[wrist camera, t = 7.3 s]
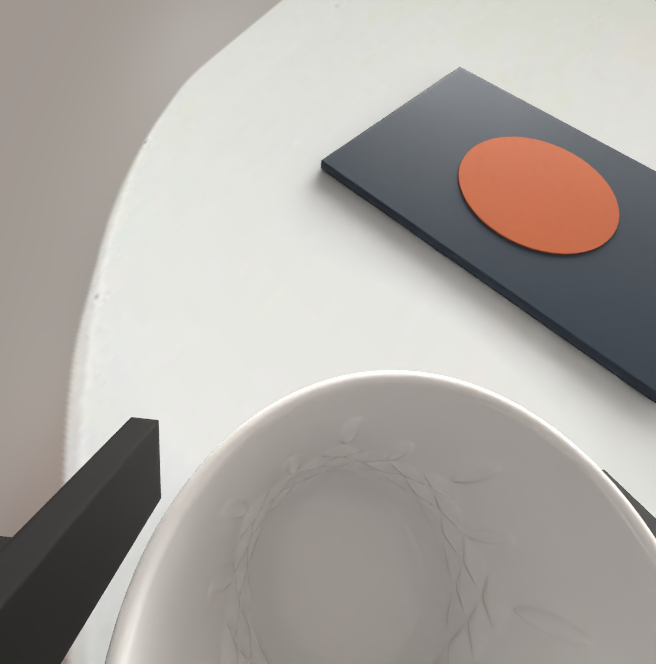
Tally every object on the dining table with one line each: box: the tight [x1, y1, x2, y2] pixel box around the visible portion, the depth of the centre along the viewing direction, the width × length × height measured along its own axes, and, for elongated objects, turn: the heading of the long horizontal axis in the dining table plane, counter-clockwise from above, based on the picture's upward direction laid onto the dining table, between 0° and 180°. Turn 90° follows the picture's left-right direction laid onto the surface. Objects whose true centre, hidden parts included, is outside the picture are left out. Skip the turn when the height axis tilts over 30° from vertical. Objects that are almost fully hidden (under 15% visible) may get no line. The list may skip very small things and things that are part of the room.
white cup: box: [105, 370, 656, 664], centre depth 9 cm, size 8×8×10 cm
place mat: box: [321, 67, 656, 403], centre depth 23 cm, size 22×16×1 cm
